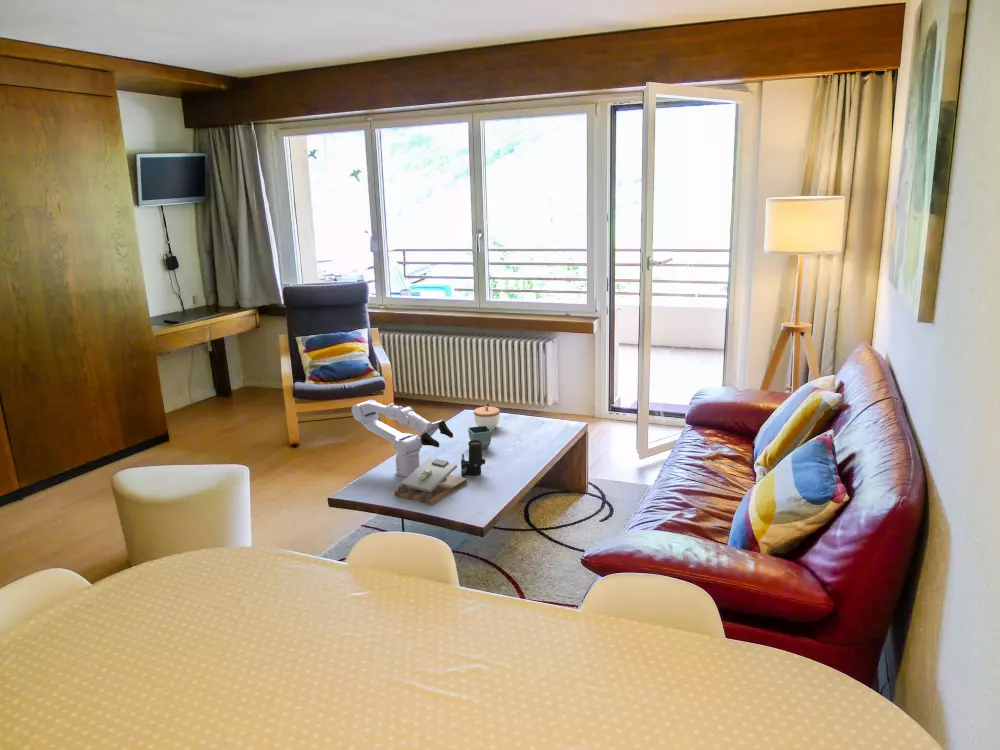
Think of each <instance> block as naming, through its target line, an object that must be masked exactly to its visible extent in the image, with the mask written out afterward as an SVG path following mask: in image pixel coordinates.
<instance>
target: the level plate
mask: <svg viewBox="0 0 1000 750" xmlns="http://www.w3.org/2000/svg"><path fill="white" fill-rule="evenodd" d="M457 465H458V464H455V463H452V462H451V463H450V462H449V461H448V460H443V459H439V458H435V459H434V458H429V457H428V458H427V459H426V460H424V462H422V463H421V464H420V466H419V467H418V468H417V469H416V470H414V471H413V472H412V473H411V474H410V475H409V476H408V477H405V478H404V479H403V480H401V482H400V485H403V486H407V487H411V488H415V489H418V490H422V491H426V492H431V491H432V490H433V489H434V488H436V487H437V486H438V485H439V484H440V483H441V482H442V481H443V480H444V479H445V478H446V477H447V476H448V475H451V473H453V472H454V471H455V470H456V469H457V468H458V466H457Z"/></svg>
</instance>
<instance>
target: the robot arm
mask: <svg viewBox="0 0 1000 750" xmlns="http://www.w3.org/2000/svg"><path fill="white" fill-rule="evenodd" d="M351 413H352V417H353V419H354V420H356V421H357V422H358V423H361V424H362V425H363V427H365V429H366V430H368V431H370V432H371V433H374V434H375V435H377V436H378V437H381V438H382V439H385V440H386V441H388V442H389V443H392V444H393V449H394V450H395V451H396V452H397V454H396V456H395V467H396V468H395V469H396V472H395V475H397V476H402V477H405V478H406V477H408V476H409V475H410V474H411V473H412V472H413V471H414V470H416V469H417V468H418V467H419V466H420V465H421V464H420V452H421V449H422V448H423V446H430V447H434V448H440V442H439V441H437V439H434V438H433V437H432V436H433V435H434V434H435V433H436V431H438V430H439V433H440V434H441V435H445V436H447V437H448V438H451V439H452V438H454V433H453V432H452V430H450V428H449V427H448V426H447V424H446V421H445V420H443V419H439V420H438V421H435V422H432V421H429V420H427V419H426V418H424V417H422V416H421V415H419V414H418V413H416V411H415V410H414V408H413V407H412V406H409V405H407V406H406V407H403V406H402V405H400V406H399V405H395V403H393V402H392V403H389V404H388V405H385V404H383V403H380V402H377V400H375V399H374V400H373V399H369V400H366V401H363V402H360V403H357V404H353V405H352V406H351ZM379 414H382V415H384V416H385V417H386V418H387V419H391V420H395V421H397V422H398V424H399V425H405V426H408V427H410V428H411V429H413V430H414V431H416V432H418V433H419V434H412V433H403V432H401V431H399V430H397V429H395V428H393V426H392V427H391V426H389V425H388V424H385V423H384V422H382V421H380V420H379V419H380V415H379Z"/></svg>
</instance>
